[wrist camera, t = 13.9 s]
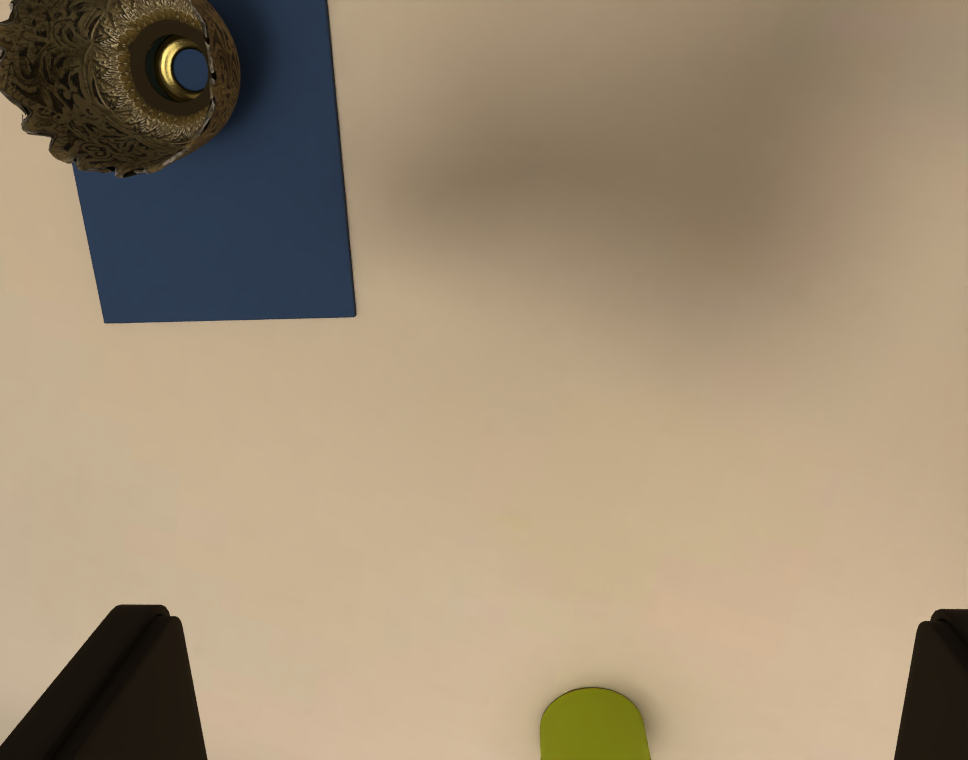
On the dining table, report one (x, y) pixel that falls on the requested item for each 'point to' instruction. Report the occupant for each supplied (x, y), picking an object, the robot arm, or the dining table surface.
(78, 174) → the cloth
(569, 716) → the soap dispenser
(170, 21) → the dark brown rounded piece
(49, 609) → the dining table surface
